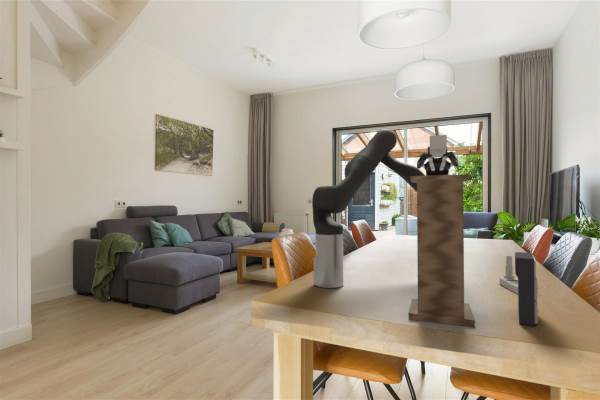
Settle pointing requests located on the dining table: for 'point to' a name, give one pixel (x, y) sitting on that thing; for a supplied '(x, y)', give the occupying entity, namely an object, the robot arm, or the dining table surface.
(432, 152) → the white cylinder with crossbar
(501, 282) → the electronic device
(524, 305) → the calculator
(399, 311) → the dining table surface
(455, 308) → the wooden pedestal stand
